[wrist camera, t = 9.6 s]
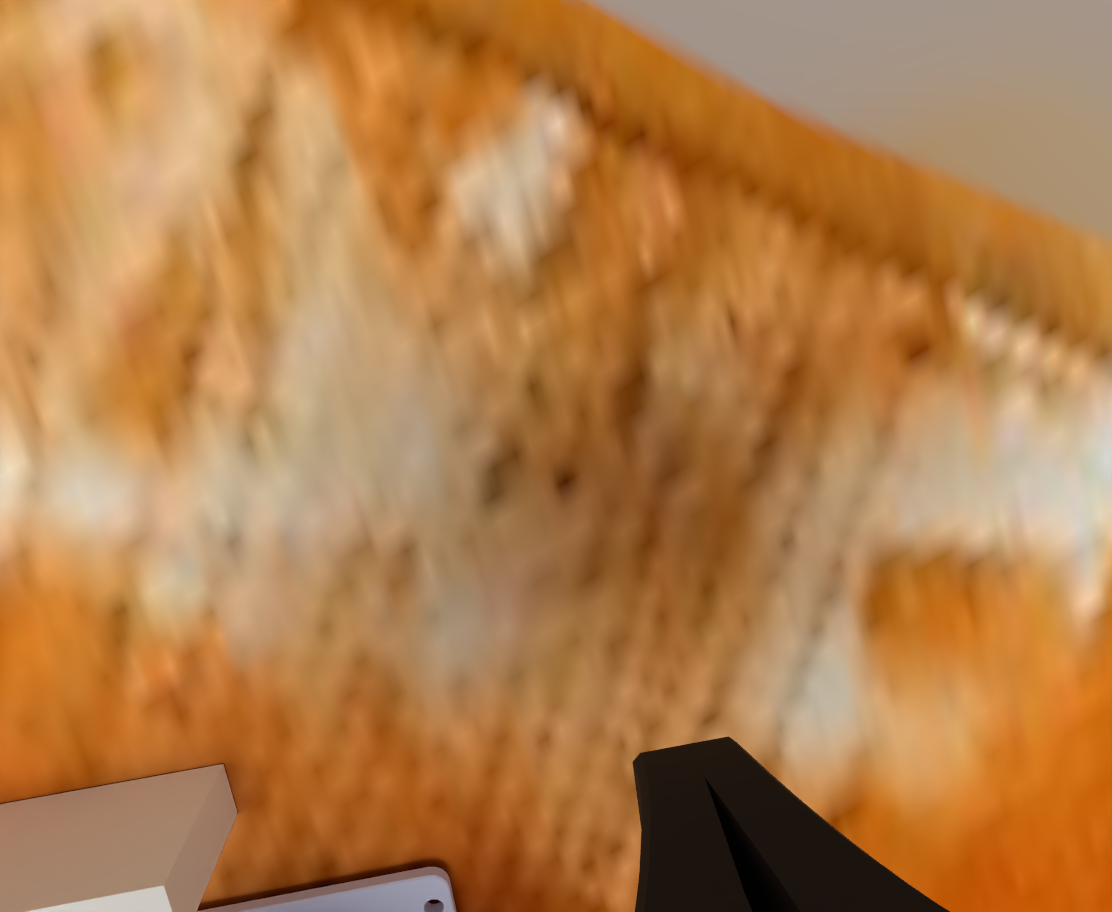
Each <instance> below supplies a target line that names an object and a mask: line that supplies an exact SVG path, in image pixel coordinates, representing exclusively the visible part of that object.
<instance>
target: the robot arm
mask: <svg viewBox="0 0 1112 912" xmlns="http://www.w3.org/2000/svg"><path fill="white" fill-rule="evenodd" d="M633 768H634V776H635V783H636V791H637V799H638V806H639V814H640V821H641V829H642V833H641V855H640V873H639V884H638V892H637V900H636V908H635V912H950V911H948V910H946V909H945V908H943V907H942V906H940V905H938V904H937V903H935V902H934V901H932V900H931V899H929V898H928V897H926V896H925V895H924V894H922V893H921V892H919V891H918V890H916V889H915V888H913V887H912V886H911V885H909V884H908V883H906V882H905V881H904V880H902V879H901V878H899V877H898V876H897V875H895V874H894V873H893V872H891V871H890V870H888V869H887V868H886V867H884V866H883V865H882V864H880V863H879V862H877V861H876V860H875V859H873V858H872V857H871V856H869V855H868V854H867V853H865V852H864V851H863V850H862V849H860V848H859V847H858V846H856V845H855V844H854V843H852V842H851V841H850V840H849V839H847V838H846V837H845V836H844V835H842V834H841V833H840V832H839V831H838V830H836V829H835V828H834V827H833V826H831V825H830V824H829V823H828V822H826V821H825V820H824V819H823V818H822V817H820V816H819V815H818V814H817V813H815V812H814V811H813V810H812V809H811V808H809V807H808V806H807V805H806V804H805V803H803V802H802V801H801V800H800V799H799V798H798V797H796V796H795V795H794V794H793V793H792V792H791V791H790V790H788V789H787V788H786V787H785V786H784V785H783V784H782V783H781V782H779V781H778V780H777V779H776V778H775V777H774V776H773V775H772V774H770V773H769V772H768V771H767V770H766V769H765V768H764V767H763V766H762V765H761V764H759V763H758V762H757V761H756V760H755V759H754V758H753V757H752V756H751V755H750V754H749V753H748V752H747V751H745V750H744V749H743V748H742V747H741V746H740V745H739V744H738V743H737V742H735V741H734V740H733V739H731V738H730V737H724V738H718V739H713V740H708V741H702V742H697V743H692V744H686V745H681V746H676V747H670V748H665V749H659V750H654V751H649V752H643V753H640V754H639V755H638V756H637V758H636V759H635V760H634V761H633ZM432 899H437V900H439V901H441V902H439V903H437V904H431V903H429V902H427V901H429V900H432ZM196 912H457V911H456V906H455V902H454V897H453V892H452V887H451V883H450V878H449V876H448V874H447V873H446V872H445V871H444V870H443V869H441V868H438V867H424V868H419V869H414V870H409V871H404V872H398V873H393V874H388V875H383V876H378V877H372V878H367V879H362V880H357V881H352V882H346V883H341V884H336V885H331V886H326V887H320V888H315V889H310V890H305V891H300V892H294V893H289V894H284V895H279V896H274V897H268V898H263V899H258V900H253V901H247V902H242V903H237V904H232V905H227V906H221V907H216V908H211V909H206V910H201V911H196Z"/></svg>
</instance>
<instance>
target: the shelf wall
mask: <svg viewBox="0 0 1112 912" xmlns="http://www.w3.org/2000/svg"><path fill="white" fill-rule="evenodd" d="M237 814H238V813H237V809H236V806H235V802H234V799H233V796H232V792H231V789H230V785H229V782H228V778H227V775H226V771H225V768H224V764H220V765H214V766H209V767H203V768H198V769H192V770H187V771H181V772H176V773H170V774H165V775H159V776H154V777H148V778H143V779H137V780H132V781H126V782H121V783H115V784H109V785H104V786H98V787H93V788H87V789H82V790H76V791H71V792H65V793H60V794H54V795H49V796H43V797H38V798H32V799H27V800H21V801H16V802H10V803H5V804H0V912H196V911H197V909H198V907H199V904H200V902H201V899H202V897H203V895H204V892H205V890H206V888H207V885H208V883H209V880H210V878H211V876H212V873H213V871H214V869H215V866H216V864H217V861H218V859H219V857H220V854H221V852H222V850H223V847H224V845H225V842H226V840H227V838H228V835H229V833H230V831H231V828H232V826H233V823H234V821H235V819H236V816H237Z"/></svg>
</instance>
